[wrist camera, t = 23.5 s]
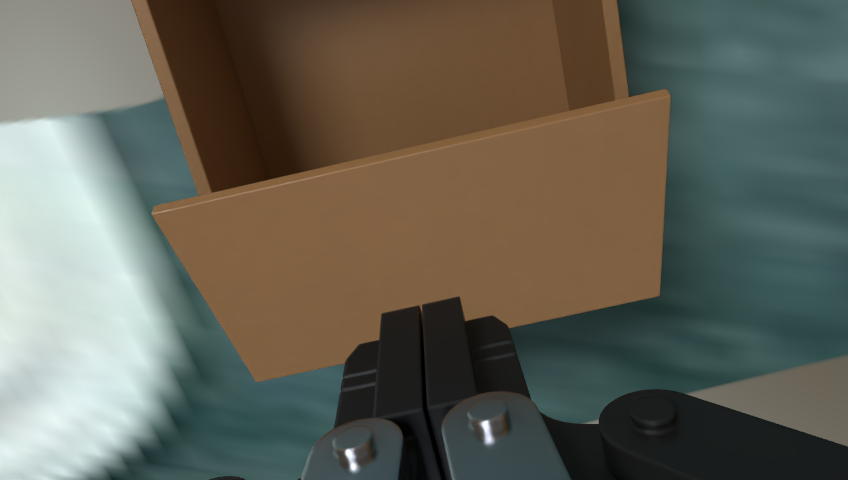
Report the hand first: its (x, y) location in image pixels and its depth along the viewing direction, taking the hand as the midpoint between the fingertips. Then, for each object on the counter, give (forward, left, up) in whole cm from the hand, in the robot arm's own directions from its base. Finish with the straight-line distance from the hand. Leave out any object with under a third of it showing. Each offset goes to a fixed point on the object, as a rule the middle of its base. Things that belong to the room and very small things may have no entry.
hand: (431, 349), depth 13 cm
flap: (0, +1, -9) cm, 9 cm away
